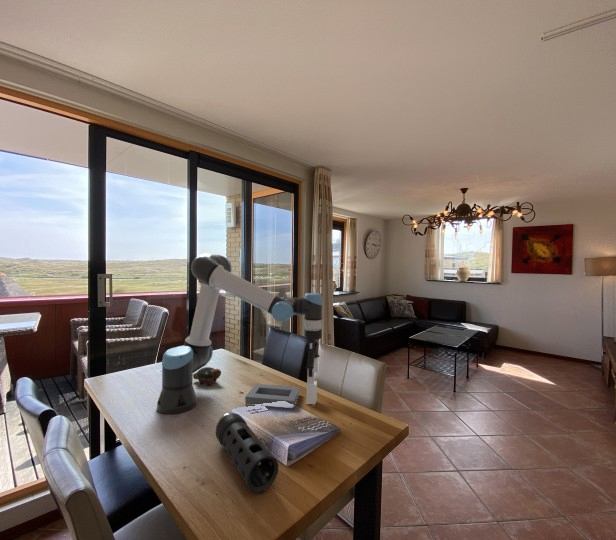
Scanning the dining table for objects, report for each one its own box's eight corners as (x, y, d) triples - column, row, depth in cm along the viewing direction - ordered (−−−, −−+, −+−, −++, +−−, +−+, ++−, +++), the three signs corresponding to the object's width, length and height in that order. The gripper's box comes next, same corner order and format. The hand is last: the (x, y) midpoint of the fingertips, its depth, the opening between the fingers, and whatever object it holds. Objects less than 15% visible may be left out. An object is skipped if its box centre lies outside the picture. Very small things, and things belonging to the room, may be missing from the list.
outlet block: (245, 404, 126) (245, 396, 126) (255, 390, 140) (255, 383, 140) (293, 409, 123) (293, 400, 123) (299, 394, 137) (299, 387, 137)
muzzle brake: (245, 503, 75) (246, 462, 75) (213, 445, 98) (213, 414, 98) (279, 488, 80) (280, 450, 80) (240, 436, 103) (241, 407, 103)
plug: (306, 404, 128) (306, 384, 128) (307, 400, 132) (308, 380, 132) (315, 405, 127) (315, 384, 127) (316, 401, 131) (317, 381, 131)
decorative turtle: (217, 388, 142) (216, 372, 142) (188, 387, 145) (187, 371, 144) (226, 379, 152) (225, 364, 151) (199, 379, 154) (197, 364, 154)
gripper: (318, 336, 116) (318, 390, 116) (324, 323, 141) (323, 368, 141) (299, 335, 117) (299, 388, 117) (308, 323, 142) (308, 367, 142)
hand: (312, 377), depth 129 cm, fingers open, 13 cm apart
